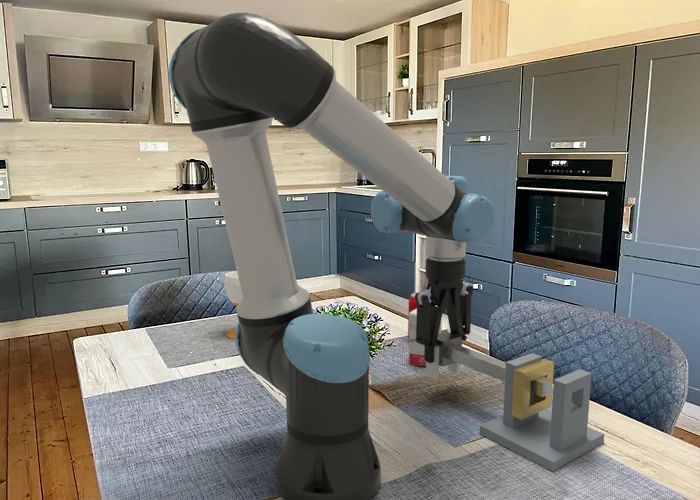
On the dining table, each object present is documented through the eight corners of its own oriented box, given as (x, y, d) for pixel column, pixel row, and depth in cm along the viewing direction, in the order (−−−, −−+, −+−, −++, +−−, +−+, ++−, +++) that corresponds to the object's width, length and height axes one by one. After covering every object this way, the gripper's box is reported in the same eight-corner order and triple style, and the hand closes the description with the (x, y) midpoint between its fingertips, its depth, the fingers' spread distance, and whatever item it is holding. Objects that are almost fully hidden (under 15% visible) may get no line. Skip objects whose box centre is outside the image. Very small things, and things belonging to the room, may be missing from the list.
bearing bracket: (552, 471, 83) (557, 392, 80) (479, 433, 94) (482, 363, 92) (603, 442, 91) (609, 370, 88) (530, 410, 102) (534, 345, 100)
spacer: (521, 419, 90) (524, 373, 89) (511, 415, 92) (514, 369, 90) (551, 406, 95) (554, 362, 93) (541, 402, 96) (543, 358, 95)
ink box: (428, 368, 122) (429, 316, 120) (407, 364, 124) (407, 313, 122) (442, 355, 129) (443, 306, 127) (421, 352, 132) (422, 304, 130)
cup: (268, 331, 147) (266, 272, 144) (244, 341, 140) (242, 279, 137) (243, 326, 152) (240, 268, 149) (218, 335, 144) (215, 275, 142)
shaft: (536, 406, 89) (538, 377, 88) (427, 360, 109) (428, 336, 108) (555, 398, 92) (557, 370, 91) (445, 355, 112) (446, 331, 111)
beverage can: (405, 344, 137) (406, 296, 135) (410, 336, 143) (411, 290, 141) (430, 346, 136) (432, 298, 134) (434, 338, 141) (435, 292, 139)
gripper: (424, 266, 97) (421, 391, 101) (493, 255, 108) (488, 369, 112) (396, 260, 103) (395, 378, 107) (464, 250, 114) (461, 358, 118)
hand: (442, 373), depth 109 cm, fingers closed on shaft, 5 cm apart
